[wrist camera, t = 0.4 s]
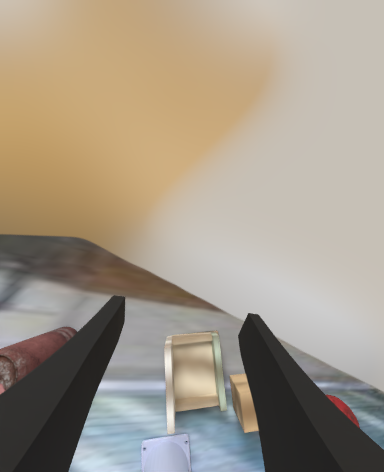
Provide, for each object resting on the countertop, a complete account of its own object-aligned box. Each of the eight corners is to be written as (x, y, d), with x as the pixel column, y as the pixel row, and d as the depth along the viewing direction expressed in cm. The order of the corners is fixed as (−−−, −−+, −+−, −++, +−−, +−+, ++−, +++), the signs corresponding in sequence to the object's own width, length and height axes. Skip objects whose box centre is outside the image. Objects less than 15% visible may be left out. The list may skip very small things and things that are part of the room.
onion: (312, 379, 35) (349, 405, 27) (338, 399, 34) (384, 431, 27) (299, 409, 34) (335, 445, 26) (326, 430, 33) (371, 474, 25)
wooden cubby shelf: (224, 395, 33) (235, 423, 27) (170, 403, 32) (167, 434, 26) (216, 330, 36) (225, 340, 29) (167, 336, 35) (164, 347, 29)
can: (71, 368, 33) (-4, 426, 19) (40, 354, 33) (-55, 401, 20) (89, 334, 34) (31, 365, 21) (60, 321, 35) (-16, 343, 21)
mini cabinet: (262, 402, 33) (279, 427, 28) (233, 407, 33) (244, 432, 27) (257, 371, 35) (273, 388, 29) (229, 375, 34) (239, 393, 28)
